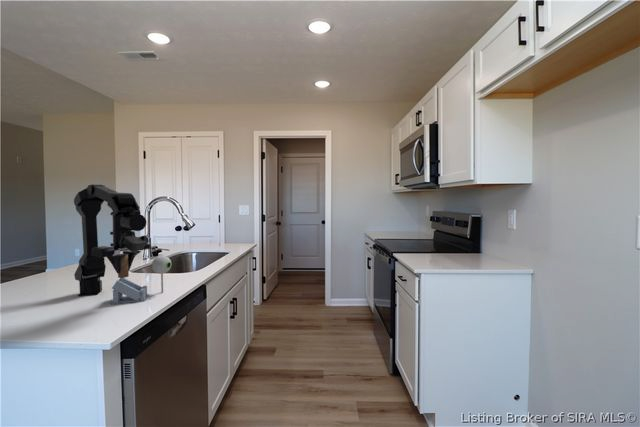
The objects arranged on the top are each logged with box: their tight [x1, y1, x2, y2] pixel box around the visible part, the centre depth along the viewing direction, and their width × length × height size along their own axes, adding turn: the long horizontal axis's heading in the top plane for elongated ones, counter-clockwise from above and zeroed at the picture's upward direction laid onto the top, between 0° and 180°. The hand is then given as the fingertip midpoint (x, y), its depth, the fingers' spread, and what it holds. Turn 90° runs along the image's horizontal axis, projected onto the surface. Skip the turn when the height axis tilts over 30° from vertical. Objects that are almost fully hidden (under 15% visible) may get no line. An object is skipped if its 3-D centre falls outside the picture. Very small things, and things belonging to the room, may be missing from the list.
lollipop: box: [151, 255, 172, 294], centre depth 130 cm, size 7×7×15 cm
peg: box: [117, 253, 130, 279], centre depth 114 cm, size 3×3×8 cm
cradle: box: [109, 277, 149, 305], centre depth 121 cm, size 11×7×8 cm, turn 109°
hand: (123, 272), depth 115 cm, fingers closed on peg, 3 cm apart
